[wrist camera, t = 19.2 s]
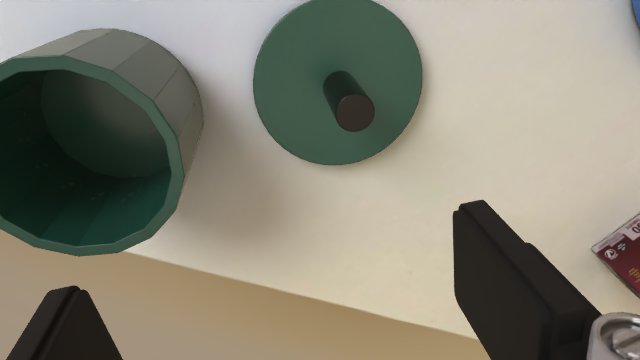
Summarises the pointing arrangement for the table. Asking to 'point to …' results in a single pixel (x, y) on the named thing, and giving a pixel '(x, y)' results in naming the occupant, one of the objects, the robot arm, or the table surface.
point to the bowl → (636, 9)
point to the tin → (94, 141)
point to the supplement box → (623, 254)
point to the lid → (337, 80)
